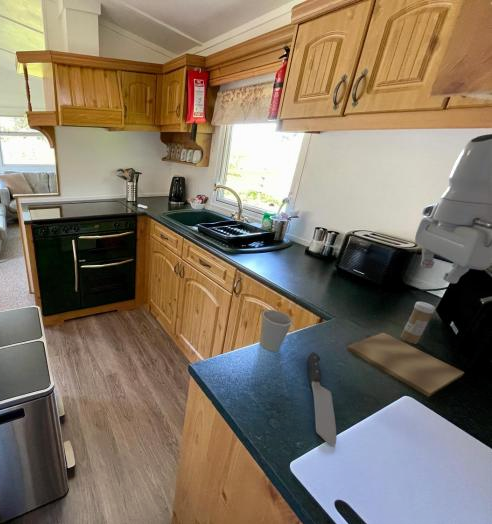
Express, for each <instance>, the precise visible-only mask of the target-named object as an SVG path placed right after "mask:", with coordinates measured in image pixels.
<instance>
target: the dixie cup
mask: <svg viewBox="0 0 492 524" xmlns="http://www.w3.org/2000/svg"><path fill="white" fill-rule="evenodd" d="M293 324H294V320H293V318H291V316H289V315H288V314H286V313H284V312H282V311H279V310H274V309H267V310H263V311H262V312H261V327H260V337H259V345H260V346H261V348H263V349H264V350H266V351H269V352H278V351H280V349H281V347H282V345H283V342H284V341H285V339H286V337H287V334H288V332H289V330H290V328H291V326H292V325H293Z"/></svg>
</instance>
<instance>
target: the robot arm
mask: <svg viewBox="0 0 492 524" xmlns="http://www.w3.org/2000/svg"><path fill="white" fill-rule="evenodd" d="M421 213H422V216H423V217H422V218H421V220H420V222H419V225H418V226H417V230H416V233H415V237H414V241H415V242H414V243H415V244H416V245H418V246H420V247H422V250H421V261H420V267H422V268H424V269H432V268H433V267H434V265H435V261H434V257H435V254H436V255H437V256H440V257H442V258H444V259H446V260H448V261H450V262H452V265H451V268H452V269H450V271H449V272H445V273H444V276H443V278H442V279H443V280H444V281H445V282H447V284H457V283H458V282H459V280H460V278H461V277H462V276H463V275H465V274H466V273H468V272H469V270H476V271H477V270H478V271H485V270H487V269H488V268H490V267H491V265H492V133H489V134H482V135H478V136H476V137H474V138H472V139H470V140H469V141H468V142H467V143H466V144H465V146H464V147H463V148H462V150H461V151H460V153H459V155H458V157H457V159H456V161H455V163H454V165H453V167H452V169H451V172H450V175H449V177H448V185H447V188H446V190H445V191H444V193H443V194H442V195H441V197H440V199H439V201H438V202H436V203H434V204H431V205H426V206H424V207H423V210H422V212H421Z"/></svg>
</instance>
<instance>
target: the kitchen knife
mask: <svg viewBox="0 0 492 524" xmlns="http://www.w3.org/2000/svg"><path fill="white" fill-rule="evenodd" d="M306 359H307V360H306V367H307V373H308V379H309V380H308V381H309V384H310V385H311V388H312V395H313V404H314V405H313V406H314V416H315V417H314V419H315V432H316V434H317V435H318V436H320V438H321V439H323V440H324V441H325V442H326V444H328V445H329V446H330V447H332V448H334V447H335V445H336V442H337V425H336V417H335V411H334V410H335V409H334V403H333V397H332V392H331V391H330V390H328V389H327V388H326V387H323V386H322V385H321V383H320V382H321V369H320V368H321V367H320V365H319V361H320V360H321V357H320V356H319V355H318V353H316V352H315V351H312V352H310V353H309V355H308V356H307V358H306Z"/></svg>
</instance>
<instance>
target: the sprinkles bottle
mask: <svg viewBox="0 0 492 524" xmlns="http://www.w3.org/2000/svg"><path fill="white" fill-rule="evenodd" d="M435 311H436V307H435V306H434V305H433V304H430V303H428V302H424V301H416V302H415V303H414V306H413V310H412V312H411V315H410V316H409V318H408V321H407V323H406V324H405V326H404V328H403V331H402V333H401V334H400V338H401V340H403V341H405V343H410V344H415V345H416V344H418V343H419V340H420V338H421V336H422V335H423V333H424V331H425V329H426V327H427V325H428V323H429V322H430V319H431V317H432V315H433V313H434V312H435Z"/></svg>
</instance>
